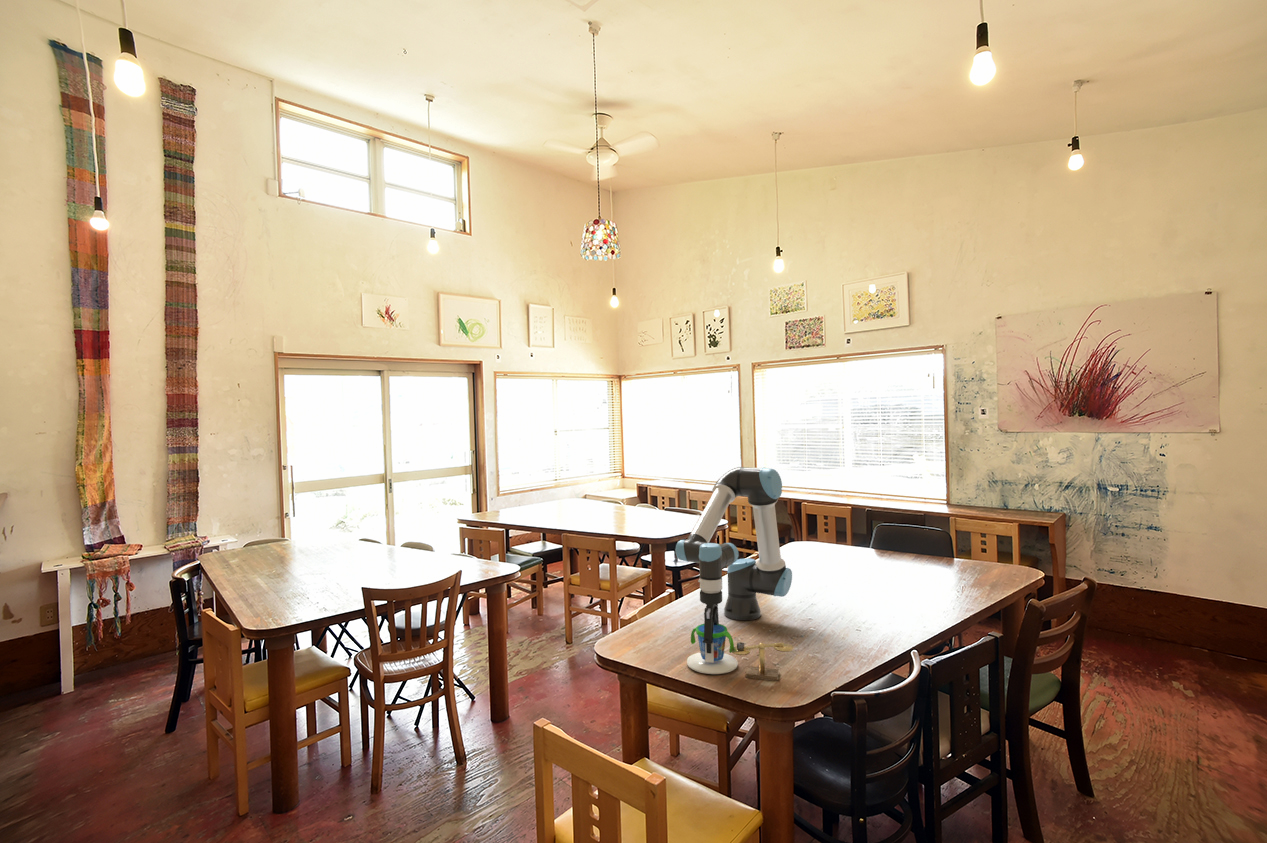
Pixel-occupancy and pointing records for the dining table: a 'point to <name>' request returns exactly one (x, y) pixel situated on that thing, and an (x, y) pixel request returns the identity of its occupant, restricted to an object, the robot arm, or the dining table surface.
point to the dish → (712, 664)
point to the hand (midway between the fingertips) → (712, 656)
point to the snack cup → (718, 640)
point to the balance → (761, 659)
